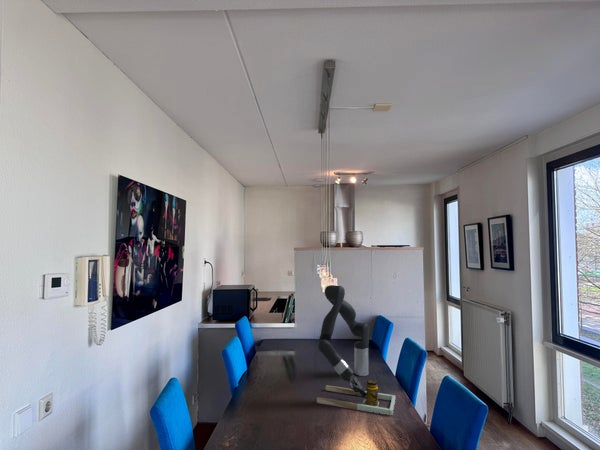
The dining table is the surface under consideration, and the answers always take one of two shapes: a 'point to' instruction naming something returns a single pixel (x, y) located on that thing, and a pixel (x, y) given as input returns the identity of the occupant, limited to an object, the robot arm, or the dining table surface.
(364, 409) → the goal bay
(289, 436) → the dining table surface
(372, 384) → the condiment
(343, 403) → the wooden guide rails
